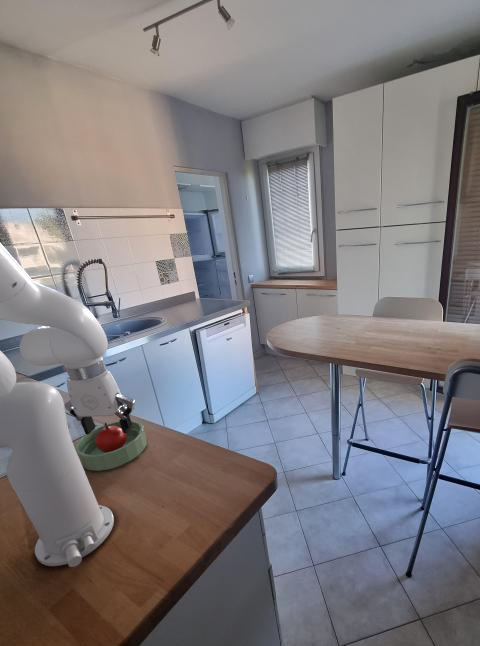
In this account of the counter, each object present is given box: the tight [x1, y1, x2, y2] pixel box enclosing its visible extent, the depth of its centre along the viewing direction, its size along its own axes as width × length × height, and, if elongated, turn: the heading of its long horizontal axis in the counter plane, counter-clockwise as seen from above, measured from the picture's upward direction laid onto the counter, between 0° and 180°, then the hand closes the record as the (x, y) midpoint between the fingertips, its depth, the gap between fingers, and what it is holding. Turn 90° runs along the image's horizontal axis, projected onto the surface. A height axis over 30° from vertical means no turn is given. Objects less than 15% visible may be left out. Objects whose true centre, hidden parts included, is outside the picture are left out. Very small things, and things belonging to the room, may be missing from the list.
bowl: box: [75, 419, 148, 472], centre depth 85 cm, size 15×15×5 cm
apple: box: [96, 422, 126, 453], centre depth 84 cm, size 7×7×8 cm
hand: (109, 430), depth 84 cm, fingers open, 9 cm apart
